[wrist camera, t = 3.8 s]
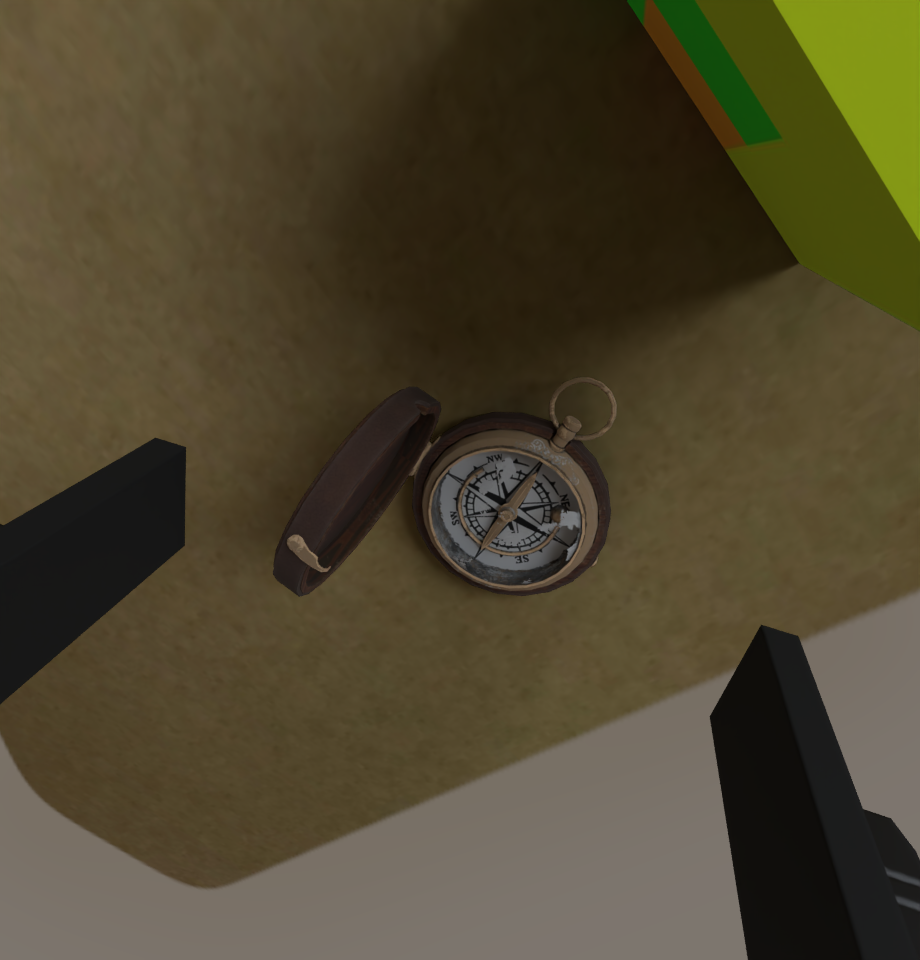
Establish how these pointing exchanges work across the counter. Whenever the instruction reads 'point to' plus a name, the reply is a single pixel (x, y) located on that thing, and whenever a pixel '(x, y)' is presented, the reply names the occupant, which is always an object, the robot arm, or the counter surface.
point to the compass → (459, 496)
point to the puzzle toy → (815, 125)
